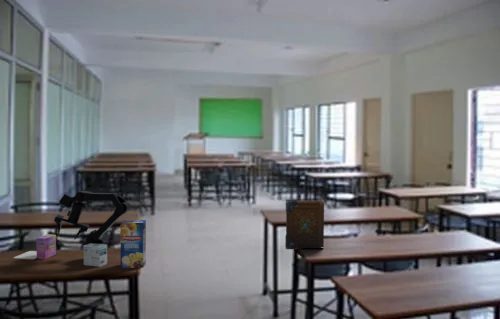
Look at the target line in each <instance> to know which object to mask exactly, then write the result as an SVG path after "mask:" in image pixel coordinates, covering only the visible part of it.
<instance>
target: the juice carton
mask: <svg viewBox="0 0 500 319" xmlns="http://www.w3.org/2000/svg"><path fill="white" fill-rule="evenodd" d="M119 225H120V227H119V228H120V232H119V233H120V239H119V240H120V241H119V243H120V268H122V269H125V268H126V269H129V268H130V269H133V268H134V269H142V268H144V267H145V266H147V265H146V264H147V232H146V231H147V226H146V225H147V220H146V219H124V220H122V221H121V222H120V224H119Z"/></svg>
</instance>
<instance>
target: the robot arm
mask: <svg viewBox="0 0 500 319" xmlns="http://www.w3.org/2000/svg"><path fill="white" fill-rule="evenodd" d="M88 201H89V202H90V201H110V202H111V203H112V204H113V207H115V209H114V210H113V213H112V215H110V216H109V218H107V220H105V221H104V222H103V223H102V225H101V226H100V227H99V228H98V229H93V230H92V231H90V233H89V234H88V235H85V236H86V238H85V243H86V244H85V245H87V244H90V243H92V244H103V245H105V242H104V240H102V238H103V237H104V235H105V234H106V232H107V231H108V230H109V229H110V228H112V226H113V225H114V224H115V223H116V222H117V221H118V220H119V219H120V218H121V217H123V216H124V215H126V214H127V213H129V212H130V211H131V209H132V206H131V203H130V202H129V201H126V199H124V198H123V197H122V196H120V195H119V194H118V193H116V192H113V193H112V192H93V191H89V190H81V191H77V192H76V193H75V195H74V196H71V195H70V194H67V193H63V195H62V197H61V199H59V201H58V205H60V206H63V207H64V208H66V209H70V210H68V211H67V214H66V216H67V219H66V218H64V216H63V215H60V214H56V216H55V217H54V219H53V222H55V224H56V225H57V235H60V232H61V229H62V225H63V223H64V224H65V223H66V224H69V225H71V226H74V227H77V228H79V229H78V231H77V233H76V234H75V237H74V240H76V239H77V238H78V236H79V235H80V234H82V233H86V232H88V230H89V227H90V225H89V224H88V223H85V222H82V223H79V220H80V219H81V215H82V212H83V210H84V209H86V208H88V207H89V206H88V204H87V202H88Z"/></svg>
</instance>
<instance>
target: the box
mask: <svg viewBox="0 0 500 319" xmlns="http://www.w3.org/2000/svg"><path fill="white" fill-rule="evenodd" d="M36 251H37V258H38V259H37V258H36V259H37V260H39V259H40V260H46V259H48V258H52V257H54V256H55V255H57V235H56V234H52V233H51V234H50V233H47V234H44V235H42V236H38V237H37V238H36Z"/></svg>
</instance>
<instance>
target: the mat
mask: <svg viewBox="0 0 500 319" xmlns="http://www.w3.org/2000/svg"><path fill="white" fill-rule="evenodd" d="M12 259H17V260H36V259H37V250H29V251H26V252H24V253H21V254H19V255H16V256H14V257H13V258H12Z"/></svg>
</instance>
